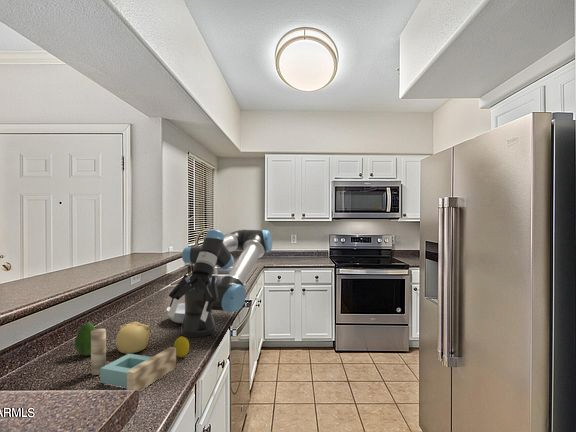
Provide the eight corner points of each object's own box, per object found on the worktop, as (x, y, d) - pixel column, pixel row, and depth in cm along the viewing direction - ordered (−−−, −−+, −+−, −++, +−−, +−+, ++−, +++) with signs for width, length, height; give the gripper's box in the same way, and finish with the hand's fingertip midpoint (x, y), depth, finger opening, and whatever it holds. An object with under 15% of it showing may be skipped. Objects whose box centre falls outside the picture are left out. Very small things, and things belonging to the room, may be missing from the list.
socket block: (128, 368, 122) (128, 353, 122) (158, 373, 118) (158, 358, 118) (100, 384, 110) (100, 368, 110) (131, 390, 106) (131, 373, 106)
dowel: (98, 369, 121) (98, 328, 121) (109, 370, 119) (108, 329, 119) (87, 374, 117) (87, 332, 117) (98, 376, 115) (98, 333, 115)
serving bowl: (199, 329, 162) (199, 314, 162) (157, 326, 166) (157, 311, 166) (217, 316, 182) (217, 303, 182) (180, 314, 187) (179, 301, 187)
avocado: (93, 349, 138) (93, 318, 138) (102, 354, 133) (102, 322, 133) (71, 355, 132) (71, 323, 132) (79, 361, 127) (79, 328, 127)
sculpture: (153, 344, 143) (153, 318, 143) (142, 356, 131) (141, 327, 131) (124, 345, 143) (124, 318, 143) (110, 357, 131) (110, 328, 131)
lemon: (170, 358, 130) (170, 336, 130) (183, 353, 134) (183, 332, 134) (179, 362, 126) (179, 339, 126) (192, 357, 131) (192, 335, 131)
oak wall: (170, 367, 122) (170, 346, 122) (176, 368, 121) (176, 347, 121) (126, 395, 103) (126, 371, 103) (133, 396, 102) (133, 372, 102)
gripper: (173, 259, 140) (151, 311, 128) (229, 262, 132) (212, 317, 120) (182, 268, 146) (162, 318, 134) (237, 271, 138) (221, 325, 126)
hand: (186, 318), depth 127 cm, fingers open, 13 cm apart
